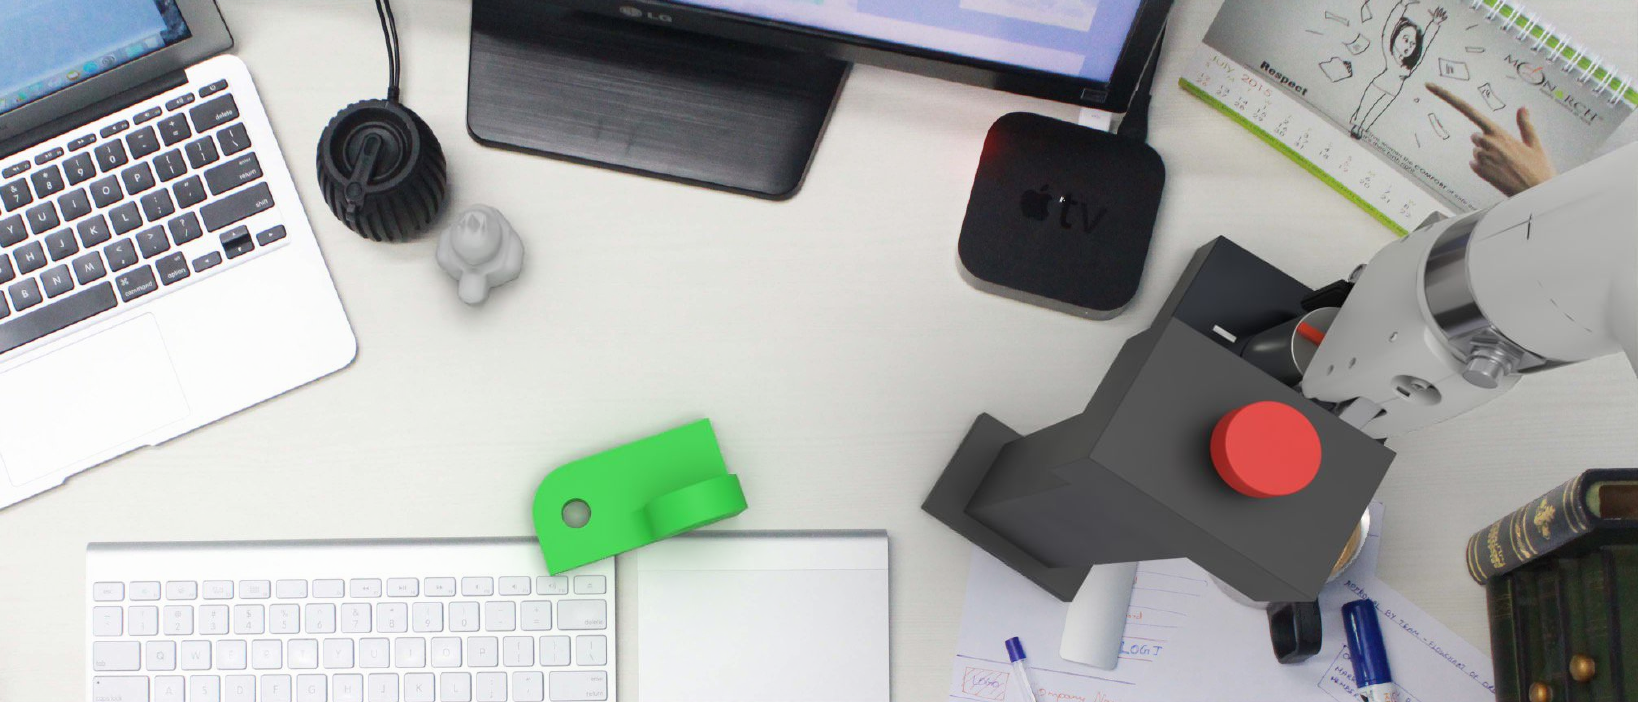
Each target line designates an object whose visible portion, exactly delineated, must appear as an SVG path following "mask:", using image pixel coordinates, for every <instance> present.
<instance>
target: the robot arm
mask: <svg viewBox="0 0 1638 702" xmlns="http://www.w3.org/2000/svg"><path fill="white" fill-rule="evenodd" d="M1300 304H1301V305H1302V306H1301V308H1302V309H1304V310H1305V311H1307V312H1312V311H1314V310H1317V309H1320V308H1326V307H1337V308H1341V309H1340V311H1339V313H1338V314H1337V316H1336V318H1335V319H1334V321H1333V323H1332V325H1331V327H1330V328H1329V330H1328V332H1327V334H1326V335H1325V337H1324V339H1323V341H1322V342H1321V344H1320V346H1319V348H1318V349H1317V351H1316V353H1315V355H1314V357H1313V359H1312V360H1311V362H1310V364H1309V366H1308V368H1307V370H1306V372H1305V374H1304V377H1303V380H1302V381H1301V382H1299V383H1298V384H1296V385H1295V386H1294V387H1292V388H1291V389H1293V390H1295V391H1296V392H1298V393H1300V394H1301V395H1303V396H1304V397H1306V398H1308V399H1309V398H1315V397H1316V398H1317V399H1318V400H1320V401H1326V402H1330V403H1332V404H1334V405H1335V406H1334V407H1333V408H1331V409H1330V410H1328V411H1329V412H1331V413H1332V414H1334V415H1335V416H1337V417H1339V418H1340V419H1342V420H1344V421H1345V422H1347V423H1349V424H1350V425H1352V426H1353V427H1355V428H1357V429H1358V430H1360V431H1362V432H1363V433H1365V434H1367V435H1368V436H1370V437H1371V438H1373V439H1381V438H1387V437H1388V438H1391V437H1395V436H1400V435H1403V434H1407V433H1410V432H1413V431H1417V430H1420V429H1424V428H1427V427H1430V426H1433V425H1436V424H1439V423H1442V422H1445V421H1448V420H1450V419H1453V418H1456V417H1458V416H1460V415H1464V414H1466V413H1468V412H1470V411H1473V410H1475V409H1477V408H1479V407H1481V406H1483V405H1485V404H1487V403H1489V402H1491V401H1494V400H1495V399H1497V398H1498V397H1500V396H1502V395H1503V394H1505V393H1507V392H1508V391H1511V390H1512V389H1513V388H1514V387H1515V386H1516V385H1517V384H1518V382H1519V381H1520V380H1521V379H1522V378H1523V377H1524V376H1528V375H1529V376H1530V375H1535V374H1538V373H1542V372H1546V371H1550V370H1555V369H1558V368H1562V367H1563V368H1564V367H1567V366H1571V365H1574V364H1579V363H1583V362H1588V361H1591V360H1594V359H1598V358H1602V357H1606V356H1610V355H1614V354H1619V353H1623V352H1624V353H1625V356H1626V357H1627V359H1628V362H1629V363H1630V365H1631V367H1632V370H1633V372H1634V374H1635V376H1636V379H1638V139H1636V140H1634V141H1631V142H1629V143H1627V144H1625V145H1623V146H1620V147H1618V148H1616V149H1613V150H1612V151H1608V152H1607V153H1605V154H1603V155H1600V156H1598V157H1596V158H1594V159H1592V160H1590V161H1587V162H1585V163H1583V164H1580V165H1578V166H1576V167H1573V168H1571V169H1568V170H1567V171H1565V172H1563V173H1560V174H1558V175H1556V176H1554V177H1552V178H1549V179H1547V180H1545V181H1542V182H1540V183H1538V184H1536V185H1534V186H1532V187H1530V188H1527V189H1525V190H1523V191H1520V192H1518V193H1516V194H1514V195H1512V196H1509V197H1507V198H1505V199H1502V200H1501V201H1498V202H1496V203H1494V204H1492V205H1490V206H1487V207H1484V208H1480V209H1475V210H1471V211H1468V212H1464V213H1461V214H1457V215H1454V216H1451V217H1449V216H1447V215H1445V214H1443V213H1442V212H1440V211H1438V210H1435V211H1433V212H1431V213H1430V214H1429V215H1428V216H1427V217H1426V218H1425V219H1424V220H1423V221H1422V222H1421V223H1420V224H1419V225H1417V226H1416V227H1415V229H1414V230H1412V232H1409V233H1408V234H1405V235H1403V236H1401V237H1400V238H1397V239H1396V240H1393V241H1392V242H1390V243H1388V244H1386V245H1385V246H1384V247H1381V249H1379V250H1378V251H1377V252H1376V253H1375V254H1374V255H1373V256H1372V258H1371V259H1370V260H1369V262H1368V263H1361V264H1360V263H1359V264H1358V265H1357V266H1356V267H1355V268H1354V269H1353V270H1352V271H1351V272H1350V273H1349V276H1348V278H1347V280H1345V279H1343V278H1340V279H1338V280H1336V281H1334V282H1332V283H1329V284H1327V285H1325V286H1322V287H1320V288H1318V289H1315V290H1314V291H1313V292H1311V293H1309V294H1306V295H1305V296H1304V297H1303V299H1302V301H1301V303H1300ZM1309 400H1310V399H1309ZM1314 403H1315V402H1314ZM1319 406H1320V405H1319ZM1322 408H1323V407H1322ZM1324 409H1325V408H1324ZM1388 438H1387V439H1388Z"/></svg>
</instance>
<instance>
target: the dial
mask: <svg viewBox="0 0 1638 702" xmlns="http://www.w3.org/2000/svg"><path fill="white" fill-rule="evenodd" d="M1340 309H1341V308H1337V307H1326V308H1320V309H1317V310H1314V311H1312V312H1309V313H1307V314H1305V315H1302V316H1300V317H1297V318H1295V319H1293V320H1290V321H1288V322H1285V323H1283V324H1281V325H1278V326H1276V327H1273V328H1271V329H1269V330H1266V331H1264V332H1261V333H1259V334H1258V335H1256V336H1255V337H1253V338H1252V339H1251V340H1250V341H1249V342H1248V344H1247V345H1246V347H1245V349H1244V351H1243V354H1242V357H1241V358H1242V359H1244V360H1246V361H1247V362H1249V363H1250V364H1252V365H1254V366H1255V367H1257V368H1259V369H1260V370H1262V371H1264V372H1265V373H1267V374H1268V375H1270V376H1272V377H1273V378H1275V379H1277V380H1278V381H1280V382H1282V383H1283V384H1285V385H1286V386H1288V387H1290V388H1292V387H1294V386H1295V385H1296V384H1298V383H1299V382H1301V381H1302V380H1303V377H1304V374H1305V372H1306V370H1307V368H1308V366H1309V364H1310V362H1311V360H1312V359H1313V357H1314V355H1315V353H1316V351H1317V349H1318V348H1319V346H1320V344H1321V342H1322V341H1323V339H1324V337H1325V335H1326V334H1327V332H1328V330H1329V328H1330V327H1331V325H1332V323H1333V321H1334V319H1335V318H1336V316H1337V314H1338V313H1339V311H1340ZM1309 399H1310V400H1311V401H1313V402H1315V403H1316V404H1321V403H1325V402H1326V401H1320V400H1318V399H1317V398H1316V397H1315V398H1309Z"/></svg>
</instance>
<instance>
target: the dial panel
mask: <svg viewBox="0 0 1638 702" xmlns="http://www.w3.org/2000/svg"><path fill="white" fill-rule="evenodd" d="M1313 291H1315V290H1314V289H1313V288H1311V287H1309V286H1307V285H1306V284H1304V283H1303V282H1301V281H1299V280H1297V278H1294V277H1293V276H1291V275H1289V274H1288V273H1286V272H1284V271H1282V270H1281V269H1280V268H1278V267H1276V266H1274V265H1272V264H1271V263H1269V262H1267V261H1266V260H1265V259H1263V258H1261V257H1259V256H1257V255H1256V254H1254V253H1253V252H1251V251H1249V250H1248V249H1246V248H1244V247H1243V246H1241V245H1239V244H1238V243H1236V242H1234V241H1233V240H1231V239H1229V238H1227V237H1226V236H1224V235H1222V234H1220V235H1218V236H1217V237H1215V238H1213V239H1212V240H1210V241H1208V242H1206V243H1204V244H1203V245H1202V246H1199V247H1198V248H1197V249H1196V251H1195V252H1194V254H1193V255H1192V257H1191V259H1190V261H1189V262H1188V264H1187V265H1186V267H1185V269H1184V270H1183V272H1182V273H1181V275H1180V277H1179V279H1178V280H1177V282H1176V283H1175V285H1174V287H1173V288H1172V290H1171V291H1170V293H1169V295H1168V297H1167V298H1166V299H1165V300H1166V301H1164V303H1163V305H1162V307H1161V309H1160V310H1159V312H1158V313H1157V315H1156V317H1155V318H1154V320H1153V321H1152V323H1151V325H1150V326H1149V328H1151V327H1153V326H1154V325H1156V324H1158V323H1160V322H1162V321H1164V320H1166V319H1168V318H1170V317H1172V316H1173V317H1175V318H1177V319H1179V320H1180V321H1182V322H1183V323H1185V324H1187V325H1188V326H1190V327H1192V328H1193V329H1195V330H1197V331H1198V332H1200V333H1201V334H1203V335H1205V336H1206V337H1208V338H1210V339H1211V340H1213V341H1215V342H1216V343H1218V344H1219V345H1221V346H1223V347H1224V348H1226V349H1228V350H1229V351H1231V352H1233V353H1234V354H1236V355H1237V356H1239V357H1242V354H1243V351H1244V349H1245V347H1246V345H1247V344H1248V342H1249V341H1250V340H1251V339H1252V338H1253V337H1255V336H1256V335H1258V334H1259V333H1261V332H1264V331H1266V330H1269V329H1271V328H1273V327H1276V326H1278V325H1281V324H1283V323H1285V322H1288V321H1290V320H1293V319H1295V318H1297V317H1300V316H1302V315H1305V314H1307V313H1309V312H1307V311H1305V310H1304V309H1302V308H1301V306H1302V305H1301V304H1300V303H1301V301H1302V299H1303V297H1304V296H1305V295H1306V294H1309V293H1311V292H1313ZM1318 405H1320V406H1321V407H1323V408H1325V409H1326V410H1327V411H1328V410H1330V409H1331V408H1333V407H1334V406H1335V405H1334V404H1332V403H1330V402H1325V403H1321V404H1318ZM1388 438H1389V437H1387V438H1381V439H1375V440H1376V441H1378V442H1380V443H1381V444H1383V445H1385V443H1386V442H1387V439H1388Z"/></svg>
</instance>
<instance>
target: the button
mask: <svg viewBox="0 0 1638 702" xmlns="http://www.w3.org/2000/svg"><path fill="white" fill-rule="evenodd" d="M1211 456H1212V460H1213V463H1214V466H1215V468H1216V470H1217V472H1218V473H1219V475H1220V476H1221V477H1222V478H1223V480H1224V481H1225V482H1226V483H1227V484H1228V485H1229V486H1231V487H1232V488H1234V489H1235V490H1237V491H1238V492H1240V493H1242V494H1245V495H1247V496H1251V497H1256V498H1270V497H1277V496H1283V495H1289V494H1292V493H1295V492H1297V491H1300V490H1301V489H1303V488H1304V487H1306V486H1307V485H1308V484H1309V483H1310V482H1311V481H1312V480H1313V478H1314V477H1315V475H1316V474H1317V471H1318V469H1319V466H1320V463H1321V444H1320V440H1319V437H1318V435H1317V432H1316V431H1315V429H1314V427H1313V426H1312V424H1311V423H1310V422H1309V420H1308V419H1307V418H1306V417H1305V416H1304V415H1303V414H1301V413H1300V412H1299V411H1297V410H1296V409H1294V408H1292V407H1290V406H1288V405H1286V404H1283V403H1279V402H1273V401H1261V402H1256V403H1252V404H1249V405H1246V406H1243V407H1239V408H1237V409H1234V410H1232V411H1230V412H1229V413H1227V414H1226V415H1225V416H1223V418H1222V419H1221V420H1220V421H1219V422H1218V424H1217V425H1216V427H1215V429H1214V431H1213V434H1212V438H1211Z"/></svg>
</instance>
